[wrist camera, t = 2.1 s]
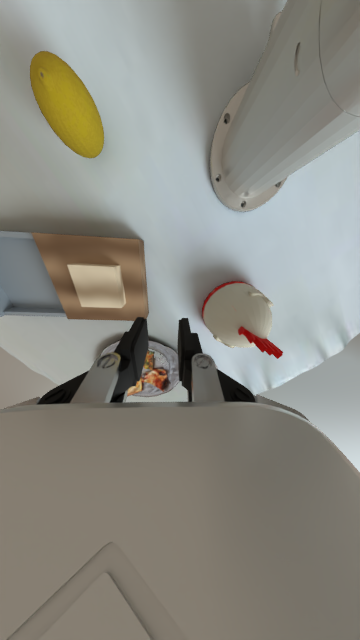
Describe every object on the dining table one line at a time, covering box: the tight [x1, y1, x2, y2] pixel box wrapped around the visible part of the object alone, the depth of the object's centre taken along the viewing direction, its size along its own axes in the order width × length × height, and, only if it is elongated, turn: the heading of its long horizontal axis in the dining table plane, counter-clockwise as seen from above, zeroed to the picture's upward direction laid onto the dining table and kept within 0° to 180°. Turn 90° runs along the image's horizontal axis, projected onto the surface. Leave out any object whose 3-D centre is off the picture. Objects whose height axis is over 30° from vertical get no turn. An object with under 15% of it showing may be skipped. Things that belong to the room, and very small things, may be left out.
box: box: [0, 231, 67, 317], centre depth 24 cm, size 15×14×5 cm
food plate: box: [100, 341, 179, 397], centre depth 39 cm, size 25×23×4 cm
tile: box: [67, 263, 126, 308], centre depth 22 cm, size 7×7×2 cm
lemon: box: [30, 51, 104, 158], centre depth 14 cm, size 6×6×8 cm
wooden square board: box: [32, 233, 149, 321], centre depth 25 cm, size 15×16×4 cm
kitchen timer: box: [202, 281, 283, 359], centre depth 25 cm, size 14×14×15 cm
